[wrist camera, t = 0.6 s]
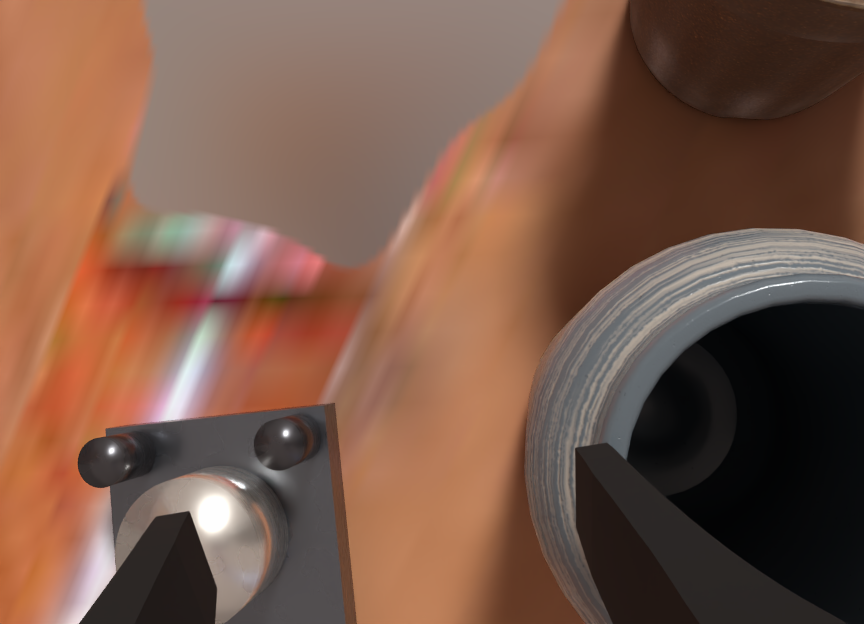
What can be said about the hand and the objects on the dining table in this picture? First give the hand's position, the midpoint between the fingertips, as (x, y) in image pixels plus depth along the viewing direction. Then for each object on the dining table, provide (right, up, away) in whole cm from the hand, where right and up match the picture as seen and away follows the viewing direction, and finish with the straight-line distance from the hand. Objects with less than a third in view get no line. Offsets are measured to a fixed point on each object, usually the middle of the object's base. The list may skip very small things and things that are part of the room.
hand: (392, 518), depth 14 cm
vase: (+11, -1, +23) cm, 26 cm away
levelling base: (-10, -9, +26) cm, 29 cm away
